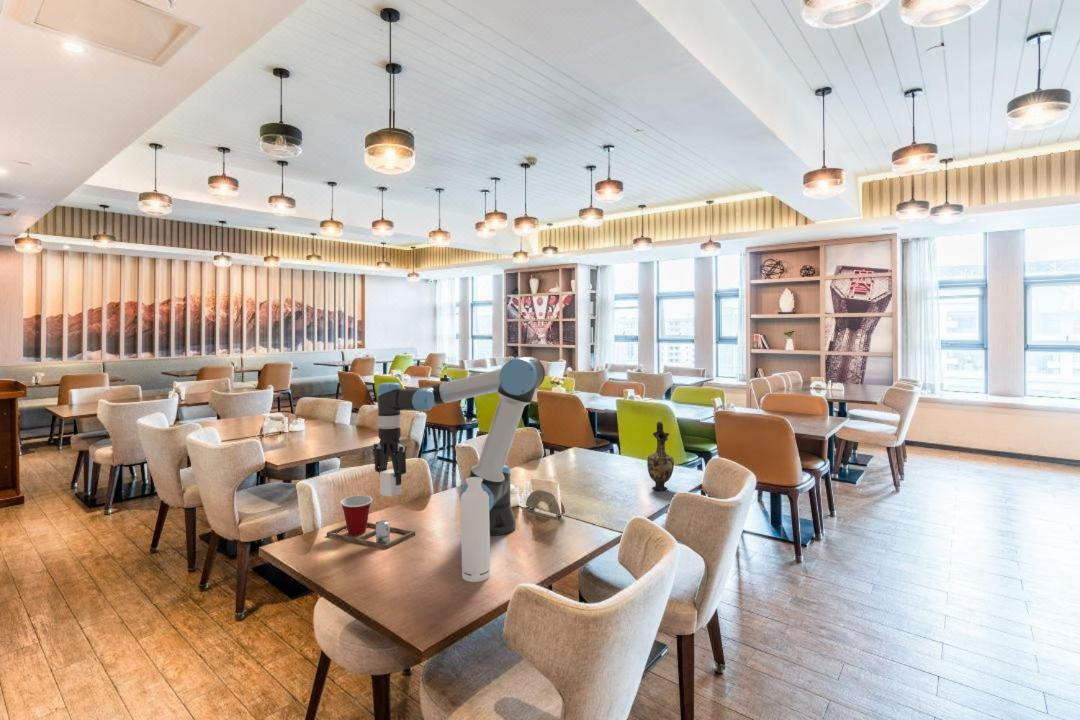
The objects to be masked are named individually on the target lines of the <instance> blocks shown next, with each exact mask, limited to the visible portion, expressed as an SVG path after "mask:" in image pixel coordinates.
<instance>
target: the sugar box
mask: <svg viewBox="0 0 1080 720" xmlns="http://www.w3.org/2000/svg"><path fill="white" fill-rule="evenodd" d="M393 475H395V474H394V469H393V468H389V469H387V470H385V471H382V472H380V474H379V494H380V496H384V497H386V496H387V497H390V498H391V497H393V496H395V495H393ZM400 494H402V484H401V485H400Z"/></svg>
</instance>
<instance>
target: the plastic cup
mask: <svg viewBox="0 0 1080 720" xmlns="http://www.w3.org/2000/svg"><path fill="white" fill-rule="evenodd" d="M372 502H373V498H372V497H371V496H368V495H350V496H347V497H345V498H343V499H341V500H340V505H341V506H342V510H343V514H344V520H345V525H347V529H346V530H347V531H348V535H350V534H352V535H351V536H359V535H358V534H360V535H362V534H363V535H364V534H365V533H366V530H367V527H368V526H367V522H368V520H369V513H370V507H371V503H372ZM364 532H365V533H364Z"/></svg>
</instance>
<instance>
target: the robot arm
mask: <svg viewBox="0 0 1080 720" xmlns="http://www.w3.org/2000/svg"><path fill="white" fill-rule="evenodd" d="M545 377H546V370H545V367H544V365H543V363H542V362H541V361H540V359H537V358H536V357H533V356H517V357H513V358H510V359H509V360H507V362H505V363H504V364H503V365H502V366H501V368H499V369H496V370H491V371H486V372H483V373H478V374H475V375H471V376H470V375H469V376H465V377H463V378H458V379H455V380H450V381H446V382H442V383H438V384H433V385H428V386H424V387H419V388H418V387H417V388H401V384H400V383H399V382H382V383H379V384H378V386H377V396H376V397H377V407H378V408H377V409H378V411H377V412H378V413H377V415H378V416H377V419H378V420H377V426H378V427H379V428H378V430H377V431H378V432H377V433H378V439H379V442H376V443H373V449H374V472H376V473H377V472H378V474H379V475H380V472H382V471H385V470H388V469H387V468H388V464H389V458H390V459H391V464H392V469H394V474H395V475H393V495H394V496H396V495H400V494H401V493H400V485H401V486H402V476H403V475H405V474H406V473H407V464H406V463H407V462H406V460H407V458H406V457H407V456H406V454H407V453H406V451H407V447H408V446H407V445H402V444H401V441H400V438H401V436H402V434H401V432H402V428H401V411H411V412H412V411H413V412H427V411H431V410H432V409H433V408H434V407H436V406H437V407H438V406H439V405H443V404H444V405H445V404H447V403H453V402H457V401H462V400H467V399H470V398H474V397H478V396H483V395H487V394H493V393H496V392H497V395H498V396H499V400H498V403H497V406H496V409H495V412H494V415H493V418H492V420H491V424H490V427H489V429H488V433H487V436H486V439H485V441H484V445H483V447H482V450H481V454H480V456H479V459H478V463H477V464H475V465H473V466H472V467H471V469H470V472H469V475H468V477H467V478H470V477H481V478H483V481H482V482H481V486H482V488H483V491H485V492H487V494H488V496H489V527H490V536H499V535H501V536H502V535H506V534H509V533H512V532H513V531H514V530H515V529H516V528H517V522H516V519H515V515H514V513H513V509H512V506H511V475H512V474H511V471H510V470H511V469H510V467H509V465H506V461H507V459H508V455H509V453H510V450H511V448H512V445H513V442H514V438H515V435H516V433H517V429H518V427H519V424H520V421H521V419H522V415H523V412H524V409H525V407H526V406H528V405H530V404H531V403H532V400H533V398H534V394H535V392H536V389H538V388H539V387H540V386H541V385H542V384H543V382H544V381H545ZM467 487H468V485H467V482H466V481H465V483H463V485H462V487H461V489H460V491H459V496H458V497H459V501H460V503H461V499H460V498H461V495H462V494H463V493H464V492H465V491H466V489H467Z"/></svg>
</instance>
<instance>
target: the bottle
mask: <svg viewBox="0 0 1080 720" xmlns="http://www.w3.org/2000/svg"><path fill="white" fill-rule="evenodd" d="M482 481H483V478H481V477H470V478H468V477H466V479H465V483H466V482H467V485H468V487H467V489H466V491H465V492H464V493H463V494H462V495H461V498H459V500H460V499H461V502H460V532H461V533H460V534H461V535H460V537H461V545H460V546H461V569H462V570H461V578H462V579H463V580H464V581H465V582H466V581H467V582H470V583H479V582H482V581H486V580H488V579H489V578H490V577H491V541H490V539H491V538H490V537H491V535H490V527H489V496H488V494H487V492H485V491H483V488H482V486H481V482H482Z"/></svg>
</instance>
